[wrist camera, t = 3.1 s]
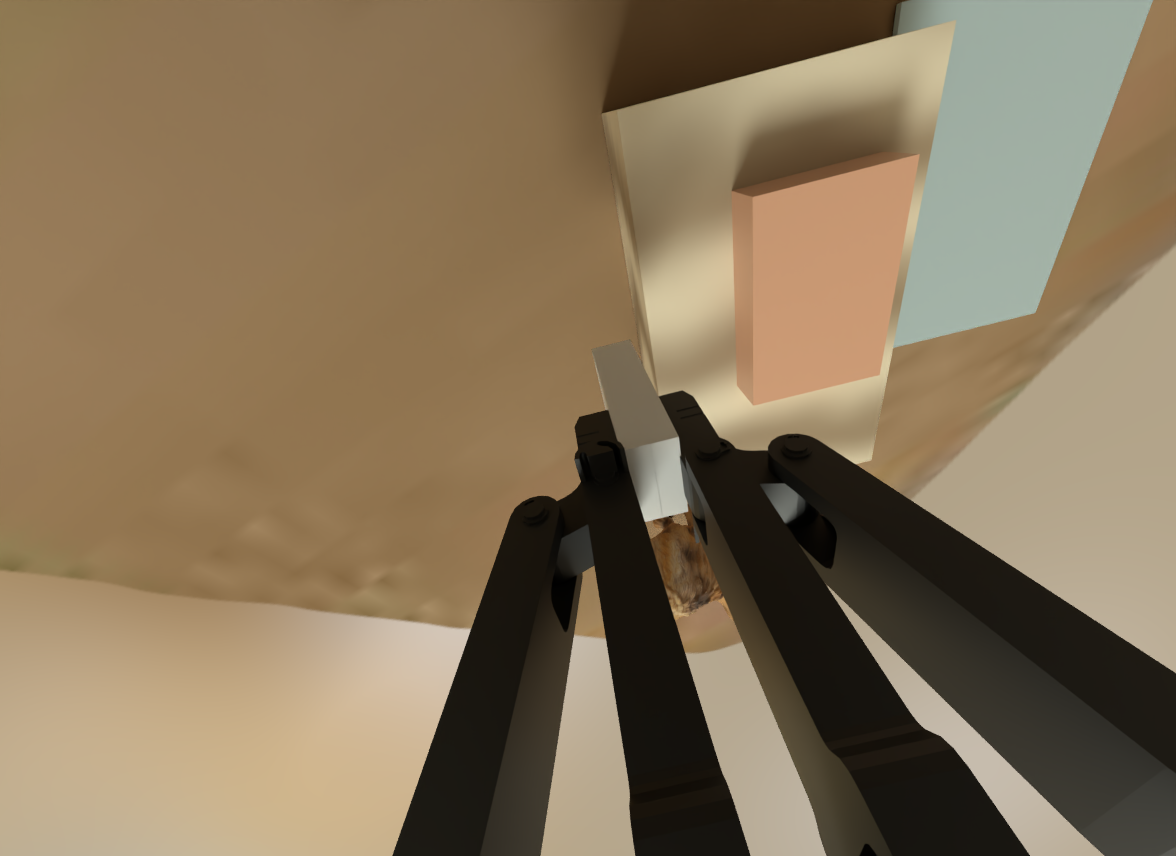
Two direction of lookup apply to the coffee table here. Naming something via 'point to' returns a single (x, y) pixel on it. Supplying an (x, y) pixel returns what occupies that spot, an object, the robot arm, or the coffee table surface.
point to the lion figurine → (685, 567)
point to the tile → (818, 273)
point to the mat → (1008, 150)
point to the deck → (704, 215)
